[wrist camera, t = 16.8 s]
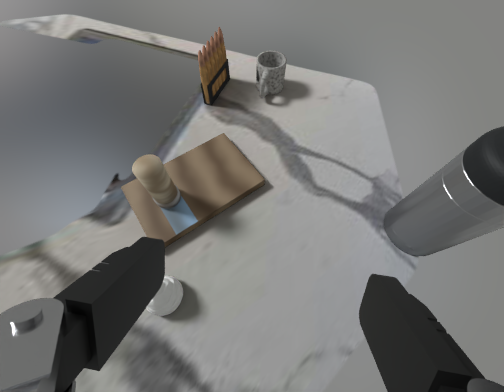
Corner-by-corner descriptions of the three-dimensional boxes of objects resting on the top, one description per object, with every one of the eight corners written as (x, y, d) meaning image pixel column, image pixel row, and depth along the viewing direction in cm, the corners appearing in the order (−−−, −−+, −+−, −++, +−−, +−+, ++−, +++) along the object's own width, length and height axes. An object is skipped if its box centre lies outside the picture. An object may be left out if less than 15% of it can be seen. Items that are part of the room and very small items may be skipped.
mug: (261, 75, 60) (262, 48, 54) (286, 80, 59) (290, 54, 53) (247, 100, 55) (247, 74, 50) (274, 106, 54) (276, 81, 48)
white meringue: (144, 264, 32) (180, 276, 31) (159, 272, 37) (191, 283, 36) (121, 306, 29) (160, 321, 28) (141, 308, 34) (175, 321, 34)
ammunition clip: (211, 105, 55) (201, 54, 44) (204, 103, 55) (192, 52, 44) (230, 78, 59) (225, 25, 49) (223, 76, 60) (217, 24, 49)
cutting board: (224, 138, 50) (223, 132, 48) (264, 184, 44) (264, 179, 43) (125, 191, 44) (120, 186, 42) (157, 252, 38) (153, 248, 37)
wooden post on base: (174, 182, 42) (154, 148, 34) (185, 200, 41) (168, 169, 32) (151, 195, 41) (125, 163, 33) (162, 213, 39) (138, 184, 31)
